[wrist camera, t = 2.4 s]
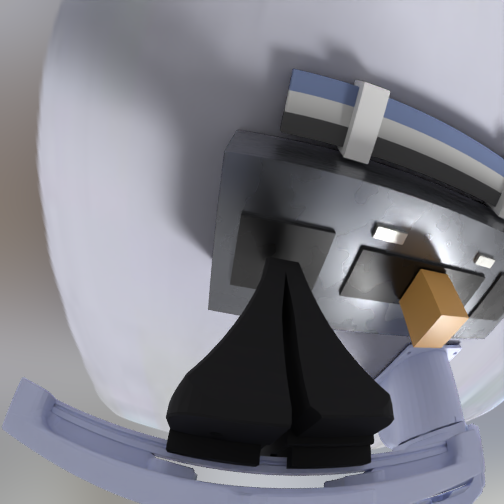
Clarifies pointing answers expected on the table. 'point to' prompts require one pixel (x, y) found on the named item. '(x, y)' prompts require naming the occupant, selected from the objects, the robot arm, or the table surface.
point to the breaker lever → (432, 310)
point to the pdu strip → (350, 235)
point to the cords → (391, 134)
